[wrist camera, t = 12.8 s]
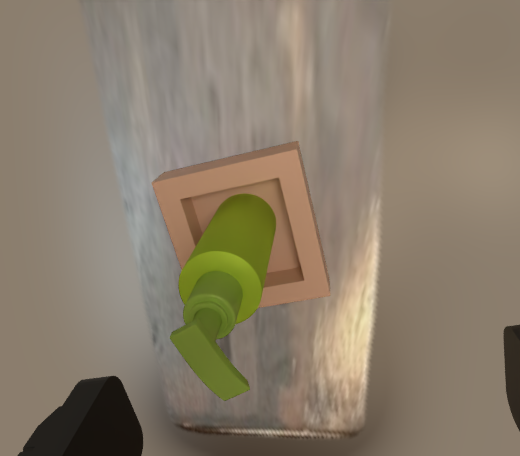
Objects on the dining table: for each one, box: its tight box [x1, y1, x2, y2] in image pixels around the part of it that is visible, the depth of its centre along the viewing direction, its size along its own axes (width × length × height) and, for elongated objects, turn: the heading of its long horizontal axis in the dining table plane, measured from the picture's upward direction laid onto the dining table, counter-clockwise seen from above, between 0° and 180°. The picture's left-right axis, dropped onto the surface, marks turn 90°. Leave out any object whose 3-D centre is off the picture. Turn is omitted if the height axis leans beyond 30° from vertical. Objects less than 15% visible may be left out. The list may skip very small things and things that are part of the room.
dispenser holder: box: [152, 141, 330, 308], centre depth 43 cm, size 14×13×4 cm
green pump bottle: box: [170, 193, 276, 401], centre depth 35 cm, size 6×7×20 cm
